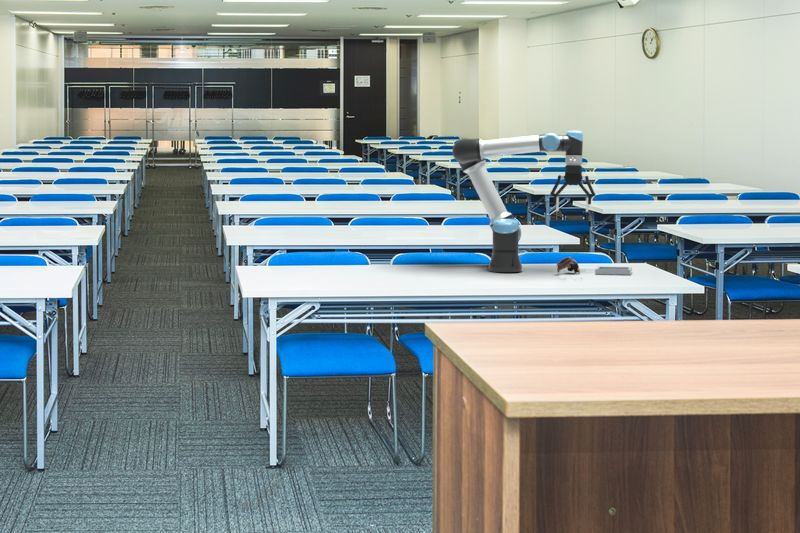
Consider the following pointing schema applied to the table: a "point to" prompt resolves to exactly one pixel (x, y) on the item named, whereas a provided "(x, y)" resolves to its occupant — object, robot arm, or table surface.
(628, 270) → the tray
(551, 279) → the table surface
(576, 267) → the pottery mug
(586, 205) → the robot arm
